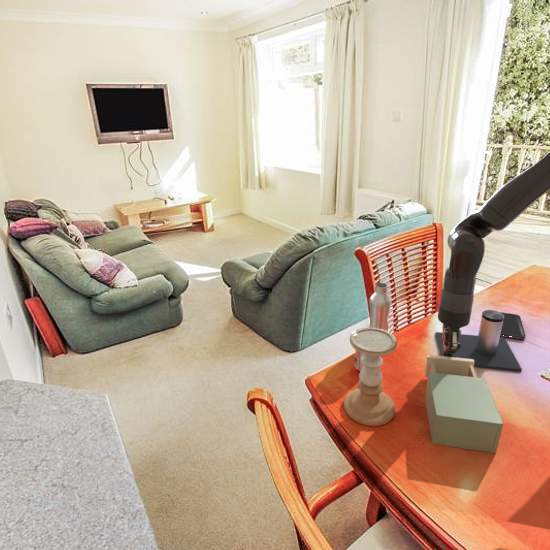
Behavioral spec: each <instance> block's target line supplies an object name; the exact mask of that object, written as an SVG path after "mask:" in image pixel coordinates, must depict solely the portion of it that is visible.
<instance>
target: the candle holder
mask: <svg viewBox="0 0 550 550" xmlns="http://www.w3.org/2000/svg"><path fill="white" fill-rule="evenodd" d="M349 343H350V346H351V347H352V348H353V349H354V350H357V351H359V352H361V353H363V354H364V355H363V356H362V357H361V362H362V363H363V366H362V369H361V371H359V374H358V379H359V381H358V382H357V388H355V389H352V390H351V391H349V392H348V393H347V394H346V396H345V397H344V399H343V408H344V412H345V413H346V414H347V416H348V417H349V418H350V419H351V420H353V421H354V422H356V423H358V424H360V425H363V426H368V427H380V426H383V425H386V424H388V423H390V422H391V420H392V419H393V418H394V416H395V413H396V405H395V403H394V401H393V399H392V398H391V396H389V395H388V394H387V393H385V392H384V391H383V389H384V386H383V381H384V377H383V372H382V370H381V367H382V365H383V363H384V359H383V357H382V356H386V355H390V354H391V353H393V352H394V351H396V349H397V346H398V340H397V338H396V336H395V335H394V334H392V333H391V332H390V331H389V332H388V331H386V330H383V329H379V328H371V327H361V328H358V329H356V330H354V331H352V333H351V334H350V335H349Z"/></svg>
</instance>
